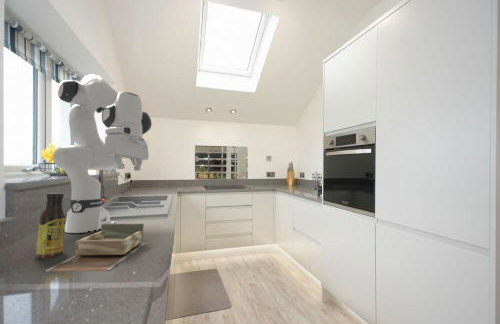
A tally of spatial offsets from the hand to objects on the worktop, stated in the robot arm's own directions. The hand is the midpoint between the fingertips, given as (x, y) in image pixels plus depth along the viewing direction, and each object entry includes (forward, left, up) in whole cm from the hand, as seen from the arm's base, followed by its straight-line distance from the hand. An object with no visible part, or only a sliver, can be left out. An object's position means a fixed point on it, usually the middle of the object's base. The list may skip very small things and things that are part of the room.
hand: (129, 169), depth 84 cm
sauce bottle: (+12, -17, -28) cm, 35 cm away
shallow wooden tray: (+9, 0, -27) cm, 28 cm away
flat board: (+13, 0, -28) cm, 31 cm away
